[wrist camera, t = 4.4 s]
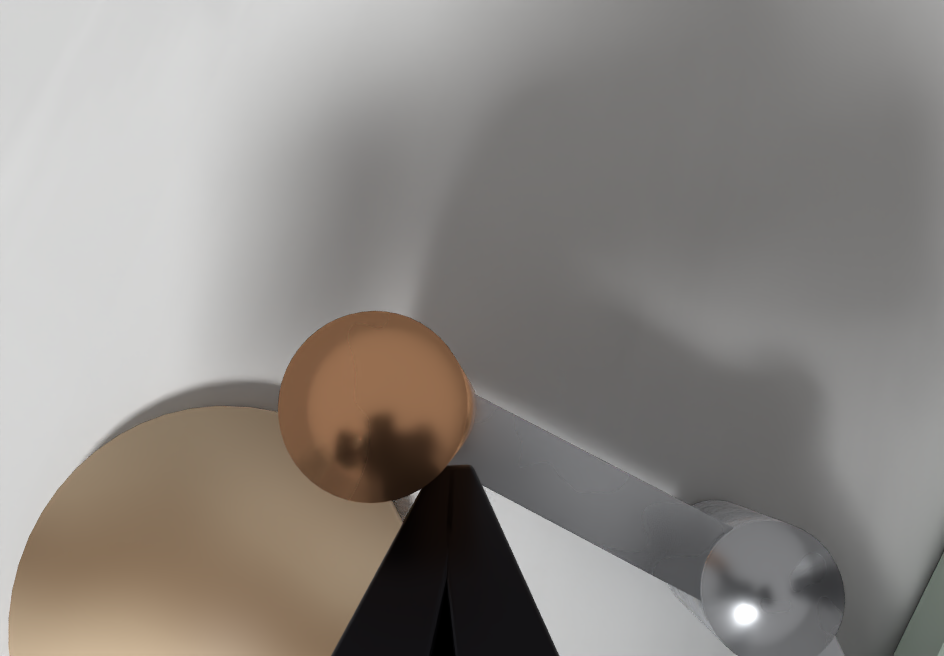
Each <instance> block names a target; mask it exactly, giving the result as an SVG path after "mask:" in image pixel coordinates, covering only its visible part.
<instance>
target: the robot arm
mask: <svg viewBox="0 0 944 656" xmlns="http://www.w3.org/2000/svg"><path fill="white" fill-rule="evenodd" d="M331 656H559V654H558V652H557V650H556V647H555V645H554V643H553V641H552V639H551V636H550V634H549V632H548V630H547V628H546V625H545V623H544V621H543V619H542V617H541V614H540V612H539V610H538V608H537V606H536V603H535V601H534V599H533V597H532V594H531V592H530V590H529V588H528V586H527V583H526V581H525V579H524V577H523V575H522V572H521V570H520V568H519V566H518V564H517V561H516V559H515V557H514V555H513V552H512V550H511V548H510V546H509V544H508V541H507V539H506V537H505V535H504V533H503V530H502V528H501V526H500V524H499V522H498V519H497V517H496V515H495V513H494V511H493V508H492V506H491V504H490V502H489V499H488V497H487V495H486V493H485V491H484V488H483V486H482V484H481V482H480V480H479V477H478V475H477V473H476V471H475V469H474V467H473V466H472V465H447V466H446V467H445V468H444V469H443V471H442V472H441V473H440V474H439V475H438V476H437V477H436V478H435V479H433V480H432V481H431V482H430V483H429V484H427V485H426V486H424V487H423V488H421V490H420V492H419V494H418V496H417V498H416V499H415V501H414V503H413V505H412V507H411V509H410V510H409V512H408V514H407V516H406V518H405V520H404V522H403V523H402V525H401V527H400V529H399V531H398V533H397V534H396V536H395V538H394V540H393V542H392V544H391V546H390V547H389V549H388V551H387V553H386V555H385V557H384V558H383V560H382V562H381V564H380V566H379V568H378V570H377V571H376V573H375V575H374V577H373V579H372V581H371V582H370V584H369V586H368V588H367V590H366V592H365V594H364V595H363V597H362V599H361V601H360V603H359V605H358V606H357V608H356V610H355V612H354V614H353V616H352V618H351V619H350V621H349V623H348V625H347V627H346V629H345V630H344V632H343V634H342V636H341V638H340V640H339V642H338V643H337V645H336V647H335V649H334V651H333V653H332V654H331Z"/></svg>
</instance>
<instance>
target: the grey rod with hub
mask: <svg viewBox="0 0 944 656" xmlns="http://www.w3.org/2000/svg"><path fill="white" fill-rule="evenodd" d="M278 419H279V426H280V431H281V435H282V438H283V441H284V444H285V446H286V448H287V451H288V453H289V455H290V456H291V458H292V460H293V461H294V463H295V465H296V466H297V467H298V468H299V469H300V471H301V472H302V473H303V474H304V475H305V476H306V477H307V478H308V479H309V480H310V481H311V482H312V483H314V484H315V485H317V486H318V487H319V488H321V489H322V490H324V491H326V492H328V493H330V494H332V495H334V496H336V497H339V498H342V499H345V500H349V501H354V502H360V503H381V502H388V501H393V500H397V499H400V498H403V497H405V496H408V495H410V494H412V493H414V492H416V491H418V490H420V489H421V488H423V487H424V486H426V485H427V484H429V483H430V482H431V481H432V480H433V479H435V478H436V477H437V476H438V475H439V474H440V473H441V472H442V471H443V469H444V468H445V467H446V466H447V465H472V466H473V467H474V469H475V471H476V473H477V475H478V477H479V480H480V482H481V484H482V485H483V486H485V487H487V488H489V489H491V490H492V491H494V492H496V493H498V494H500V495H502V496H504V497H506V498H508V499H509V500H511V501H513V502H515V503H517V504H519V505H521V506H523V507H525V508H526V509H528V510H530V511H532V512H534V513H536V514H538V515H540V516H542V517H543V518H545V519H547V520H549V521H551V522H553V523H555V524H557V525H559V526H560V527H562V528H564V529H566V530H568V531H570V532H572V533H574V534H576V535H577V536H579V537H581V538H583V539H585V540H587V541H589V542H591V543H592V544H594V545H596V546H598V547H600V548H602V549H604V550H606V551H608V552H609V553H611V554H613V555H615V556H617V557H619V558H621V559H623V560H625V561H626V562H628V563H630V564H632V565H634V566H636V567H638V568H640V569H642V570H643V571H645V572H647V573H649V574H651V575H653V576H655V577H657V578H659V579H660V580H662V581H664V582H666V583H668V585H669V587H670V589H671V590H672V592H673V593H674V595H675V596H676V597H677V598H678V599H679V600H680V601H681V602H682V603H683V604H684V605H685V606H686V607H687V608H688V609H689V610H690V611H691V612H692V613H693V614H694V615H695V616H696V617H697V618H698V619H699V620H700V621H701V622H702V623H703V624H704V625H705V626H706V627H707V628H708V629H709V630H710V631H711V632H712V633H713V634H714V635H715V636H716V637H717V638H718V639H719V640H720V641H721V642H722V643H723V644H724V645H725V646H727V647H728V648H729V649H730V650H731V651H732V652H733V653H735V654H736V655H738V656H845V655H844V653H843V651H842V649H841V647H840V645H839V642H838V640H837V638H836V636H835V635H836V633H837V631H838V629H839V627H840V624H841V621H842V617H843V613H844V605H845V594H844V587H843V582H842V578H841V574H840V572H839V570H838V567H837V565H836V563H835V561H834V560H833V558H832V556H831V555H830V553H829V552H828V551H827V549H826V548H825V547H824V546H823V545H822V544H821V543H820V542H819V541H818V540H817V539H816V538H814V537H813V536H812V535H810V534H809V533H807V532H806V531H804V530H802V529H800V528H798V527H796V526H794V525H791V524H788V523H785V522H783V521H780V520H777V519H775V518H772V517H769V516H767V515H764V514H761V513H759V512H756V511H753V510H750V509H748V508H745V507H742V506H740V505H737V504H734V503H731V502H727V501H721V500H710V501H704V502H699V503H697V504H694V505H692V506H690V505H689V504H687V503H685V502H683V501H681V500H679V499H677V498H675V497H673V496H671V495H669V494H667V493H665V492H663V491H661V490H660V489H658V488H656V487H654V486H652V485H650V484H648V483H646V482H644V481H642V480H640V479H638V478H636V477H634V476H632V475H630V474H629V473H627V472H625V471H623V470H621V469H619V468H617V467H615V466H613V465H611V464H609V463H607V462H605V461H603V460H601V459H599V458H598V457H596V456H594V455H592V454H590V453H588V452H586V451H584V450H582V449H580V448H578V447H576V446H574V445H572V444H570V443H569V442H567V441H565V440H563V439H561V438H559V437H557V436H555V435H553V434H551V433H549V432H547V431H545V430H543V429H541V428H539V427H538V426H536V425H534V424H532V423H530V422H528V421H526V420H524V419H522V418H520V417H518V416H516V415H514V414H512V413H510V412H509V411H507V410H505V409H503V408H501V407H499V406H497V405H495V404H493V403H491V402H489V401H487V400H485V399H483V398H481V397H479V396H478V395H476V394H475V392H474V389H473V387H472V385H471V383H470V381H469V379H468V378H467V376H466V374H465V373H464V371H463V370H462V368H461V366H460V365H459V363H458V361H457V360H456V358H455V356H454V355H453V353H452V352H451V350H450V349H449V347H448V346H447V345H446V344H445V343H444V342H443V341H442V339H441V338H440V337H439V336H437V335H436V334H435V333H434V332H433V331H432V330H430V329H429V328H427V327H426V326H424V325H423V324H421V323H419V322H417V321H415V320H413V319H411V318H409V317H406V316H403V315H400V314H396V313H390V312H382V311H368V312H359V313H354V314H350V315H347V316H344V317H341V318H338V319H336V320H334V321H332V322H330V323H328V324H326V325H325V326H323V327H322V328H320V329H319V330H317V331H316V332H315V333H314V334H313V335H311V336H310V337H309V338H308V339H307V340H306V341H305V342H304V343H303V344H302V346H301V347H300V348H299V349H298V351H297V352H296V353H295V355H294V356H293V358H292V360H291V361H290V363H289V365H288V367H287V369H286V372H285V374H284V377H283V380H282V383H281V388H280V392H279V400H278Z"/></svg>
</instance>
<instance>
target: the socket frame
mask: <svg viewBox="0 0 944 656" xmlns="http://www.w3.org/2000/svg"><path fill="white" fill-rule="evenodd" d="M893 656H944V552H943V555H942V557H941V559H940V561H939V563H938V565H937V567H936V569H935V571H934V573H933V575H932V577H931V579H930V581H929V583H928V585H927V587H926V589H925V591H924V593H923V596H922V598H921V600H920V602H919V604H918V606H917V608H916V610H915V612H914V614H913V616H912V618H911V620H910V622H909V624H908V626H907V628H906V630H905V632H904V634H903V636H902V639H901V641H900V643H899V645H898V647H897V649H896V651H895V653H894V655H893Z"/></svg>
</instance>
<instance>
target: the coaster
mask: <svg viewBox="0 0 944 656" xmlns="http://www.w3.org/2000/svg"><path fill="white" fill-rule="evenodd" d="M402 523H403V521H402V519H401V517H400V515H399V513H398V511H397V509H396V507H395V505H394V503H393V501H388V502H381V503H360V502H354V501H349V500H345V499H342V498H339V497H336V496H334V495H332V494H330V493H328V492H326V491H324V490H322V489H321V488H319V487H318V486H317V485H315V484H314V483H312V482H311V481H310V480H309V479H308V478H307V477H306V476H305V475H304V474H303V473H302V472H301V471H300V469H299V468H298V467H297V466H296V465H295V463H294V461H293V460H292V458H291V456H290V455H289V453H288V451H287V448H286V446H285V444H284V441H283V438H282V435H281V431H280V426H279V419H278V412H276V411H270V410H265V409H259V408H253V407H233V406H212V407H201V408H191V409H187V410H182V411H178V412H174V413H169V414H165V415H163V416H160V417H157V418H155V419H152V420H149V421H147V422H144V423H141V424H139V425H137V426H135V427H134V428H132V429H130V430H128V431H126V432H124V433H122V434H120V435H118V436H117V437H115V438H114V439H112V440H111V441H110V442H108V443H107V444H105V445H104V446H102V447H101V448H99V449H98V450H97V451H95V452H94V453H93V454H92V455H91V456H90V457H89V458H87V459H86V460H85V461H84V462H83V463H82V464H81V465H80V466H79V467H77V468H76V469H75V470H74V471H73V473H72V474H71V475H70V476H69V477H68V478H67V479H66V481H65V482H64V483H63V484H62V485H61V486H60V487H59V489H58V490H57V491H56V493H55V494H54V496H53V497H52V498H51V500H50V501H49V503H48V504H47V506H46V507H45V509H44V510H43V512H42V513H41V515H40V517H39V519H38V521H37V523H36V525H35V527H34V529H33V530H32V532H31V534H30V536H29V538H28V541H27V544H26V546H25V549H24V552H23V554H22V557H21V559H20V562H19V565H18V569H17V573H16V577H15V581H14V585H13V589H12V596H11V604H10V612H9V654H10V656H331V654H332V653H333V651H334V649H335V647H336V645H337V643H338V642H339V640H340V638H341V636H342V634H343V632H344V630H345V629H346V627H347V625H348V623H349V621H350V619H351V618H352V616H353V614H354V612H355V610H356V608H357V606H358V605H359V603H360V601H361V599H362V597H363V595H364V594H365V592H366V590H367V588H368V586H369V584H370V582H371V581H372V579H373V577H374V575H375V573H376V571H377V570H378V568H379V566H380V564H381V562H382V560H383V558H384V557H385V555H386V553H387V551H388V549H389V547H390V546H391V544H392V542H393V540H394V538H395V536H396V534H397V533H398V531H399V529H400V527H401V525H402Z"/></svg>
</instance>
